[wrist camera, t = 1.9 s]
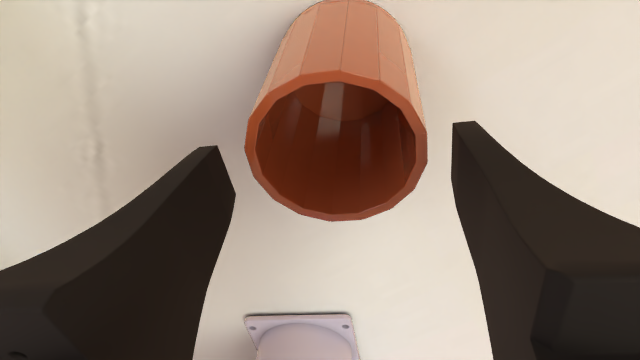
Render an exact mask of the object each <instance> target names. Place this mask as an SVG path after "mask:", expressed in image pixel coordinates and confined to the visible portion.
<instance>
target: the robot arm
mask: <svg viewBox="0 0 640 360" xmlns="http://www.w3.org/2000/svg"><path fill="white" fill-rule="evenodd" d="M451 181H452V187H453V193H454V198H455V204H456V208H457V212H458V215H459V218H460V221H461V225H462V228H463V231H464V234H465V237H466V240H467V244H468V247H469V250H470V253H471V256H472V259H473V262H474V266H475V269H476V273H477V276H478V280H479V285H480V290H481V295H482V300H483V305H484V310H485V315H486V320H487V326H488V331H489V337H490V342H491V348H492V353H493V359H494V360H640V228H639V227H637V226H634V225H632V224H629V223H627V222H624V221H622V220H620V219H617V218H615V217H613V216H611V215H608V214H606V213H604V212H602V211H600V210H598V209H596V208H594V207H592V206H590V205H588V204H586V203H584V202H582V201H580V200H578V199H576V198H574V197H572V196H571V195H569V194H567V193H566V192H564V191H562V190H561V189H559V188H557V187H556V186H554V185H552V184H551V183H549V182H548V181H546V180H545V179H543V178H542V177H540V176H539V175H537V174H536V173H535V172H533V171H532V170H530V169H529V168H528V167H526V166H525V165H524V164H522V163H521V162H520V161H519V160H517V159H516V158H515V157H514V156H513V155H512V154H510V153H509V152H508V151H507V150H506V149H505V148H503V147H502V146H501V145H500V144H499V143H498V142H497V141H496V140H495V139H494V138H493V137H492V136H490V135H489V134H488V133H487V132H486V131H485V130H484V129H483V128H482V127H481V126H480V125H479V124H478V123H477V122H476V121H468V122H458V123H453V129H452V166H451ZM235 197H236V193H235V191H234V188H233V185H232V183H231V180H230V178H229V175H228V172H227V170H226V167H225V164H224V162H223V159H222V157H221V154H220V151H219V149H218V146H217V145H216V146H205V147H199V148H197V149H196V150H194V151H193V152H192V153H190V154H189V155H188V156H186V157H185V158H184V159H183V160H182V161H180V162H179V163H178V164H177V165H176V166H174V167H173V168H172V169H171V170H170V171H168V172H167V173H166V174H165V175H164V176H162V177H161V178H160V179H159V180H158V181H156V182H155V183H154V184H153V185H151V186H150V187H149V188H148V189H146V190H145V191H144V192H142V193H141V194H140V195H138V196H137V197H136V198H135V199H133V200H132V201H131V202H129V203H128V204H127V205H125V206H124V207H122V208H121V209H119V210H118V211H117V212H115V213H114V214H112V215H110V216H109V217H107V218H106V219H104V220H103V221H101V222H99V223H98V224H96V225H95V226H93V227H91V228H89V229H87V230H86V231H84V232H82V233H80V234H78V235H77V236H75V237H73V238H71V239H69V240H68V241H66V242H64V243H62V244H60V245H58V246H56V247H54V248H52V249H50V250H48V251H46V252H44V253H41V254H39V255H37V256H35V257H33V258H30V259H28V260H26V261H23V262H21V263H19V264H16V265H14V266H11V267H9V268H6V269H4V270H1V271H0V360H192V359H193V353H194V347H195V342H196V337H197V332H198V327H199V322H200V317H201V313H202V309H203V304H204V300H205V296H206V292H207V288H208V285H209V282H210V278H211V276H212V273H213V270H214V267H215V264H216V262H217V259H218V256H219V253H220V251H221V248H222V245H223V242H224V239H225V237H226V234H227V231H228V228H229V225H230V222H231V218H232V213H233V208H234V202H235ZM244 323H245V326H246V328H247V330H248V332H249V334H250V336H251V338H252V340H253V342H254V344H255V347H256V349H257V351H258V353H257V358H256V360H360V356H359V351H358V347H357V342H356V337H355V332H354V328H353V323H352V318H351V317H350V316H349V315H346V314H330V315H283V316H248V317H246V319H245V322H244Z"/></svg>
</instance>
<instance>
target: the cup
mask: <svg viewBox="0 0 640 360" xmlns="http://www.w3.org/2000/svg"><path fill="white" fill-rule="evenodd" d="M244 148H245V153H246V156H247V159H248V162H249V165H250V168H251V171H252V174H253V176H254V178H255V179H256V180H257V181H258V183H259V184H260V185H261V186H262V187H263V188H264V189H265V191H266V192H267V193H268V194H269V195H270V196H271V197H272V198H273V199H274V200H275V201H277V202H279V203H280V204H282V205H284V206H286V207H287V208H289V209H291V210H293V211H295V212H296V213H298V214H301V215H304V216H308V217H313V218H317V219H322V220H326V221H332V222H333V221H349V220H362V219H366V218H368V217H371V216H374V215H376V214H379V213H382V212H384V211H387V210H390V209H391V208H393V207H394V206H395V205H396V204H398V203H399V202H400V201H401V200H402V199H404V198H405V197H406V196H407V195H408V194H409V193H411V192H412V191H413V190H414V189H415V187H416V185H417V183H418V181H419V179H420V177H421V175H422V173H423V171H424V169H425V167H426V165H427V161H428V159H427V130H426V125H425V120H424V115H423V110H422V105H421V100H420V95H419V90H418V85H417V80H416V75H415V70H414V65H413V59H412V54H411V50H410V47H409V45H408V42H407V39H406V37H405V34H404V32H403V30H402V29H401V27H400V25H399V24H398V23H397V22H396V20H395V19H394V18H393V17H392V16H391V15H390V14H389V13H388V12H386V11H385V10H384V9H382V8H381V7H379V6H377V5H375V4H373V3H371V2H368V1H365V0H325V1H322V2H320V3H317V4H315V5H313V6H311V7H310V8H308V9H307V10H305V11H304V12H303V13H302V14H301V15H299V16H298V17H297V18H296V19H295V21H294V22H293V23H292V25H291V26H290V28H289V29H288V31H287V33H286V35H285V37H284V38H283V40H282V41H281V44H280V46H279V49H278V51H277V53H276V56H275V58H274V60H273V63H272V65H271V67H270V70H269V72H268V74H267V77H266V79H265V81H264V84H263V86H262V89H261V91H260V93H259V96H258V98H257V100H256V103H255V105H254V107H253V110H252V112H251V114H250V117H249V119H248V125H247V132H246V139H245V146H244Z"/></svg>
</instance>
